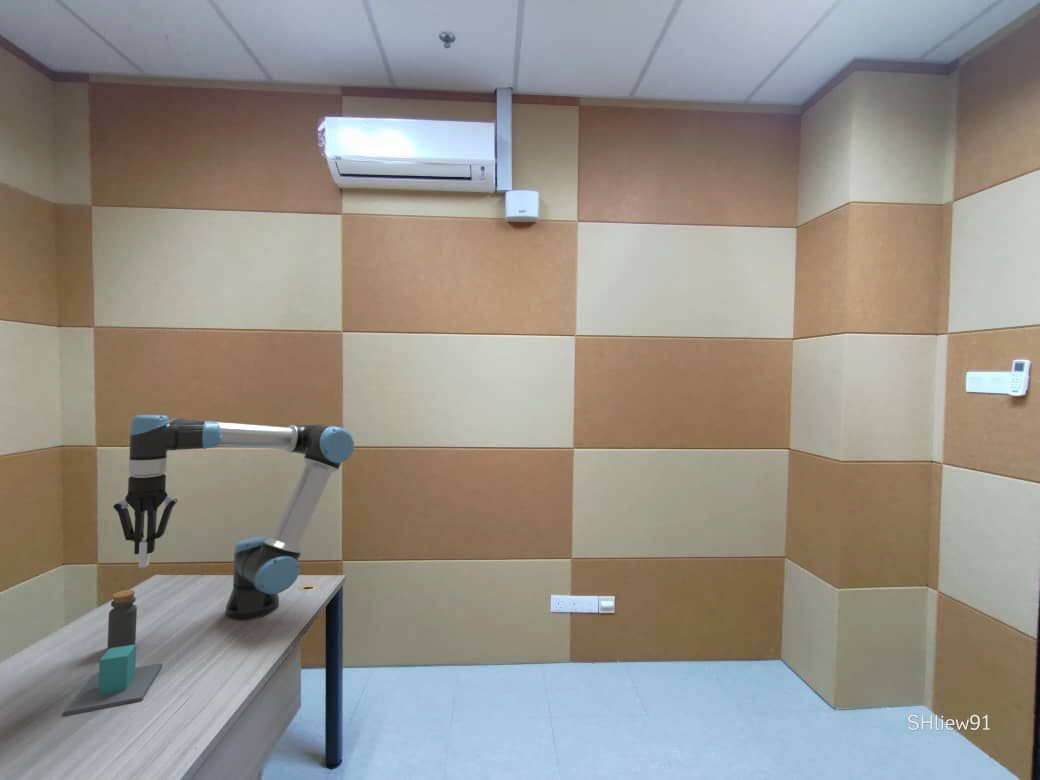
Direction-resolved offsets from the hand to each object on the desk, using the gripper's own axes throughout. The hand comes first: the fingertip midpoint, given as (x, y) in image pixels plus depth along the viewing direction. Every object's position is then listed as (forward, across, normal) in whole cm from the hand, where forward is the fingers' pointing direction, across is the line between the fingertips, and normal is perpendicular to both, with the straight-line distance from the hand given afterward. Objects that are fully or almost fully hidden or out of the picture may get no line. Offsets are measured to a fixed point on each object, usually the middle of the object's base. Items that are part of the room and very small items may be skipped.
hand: (144, 565), depth 116 cm
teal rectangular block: (+26, +2, +8) cm, 27 cm away
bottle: (+27, +8, -13) cm, 31 cm away
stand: (+26, +2, +8) cm, 28 cm away
